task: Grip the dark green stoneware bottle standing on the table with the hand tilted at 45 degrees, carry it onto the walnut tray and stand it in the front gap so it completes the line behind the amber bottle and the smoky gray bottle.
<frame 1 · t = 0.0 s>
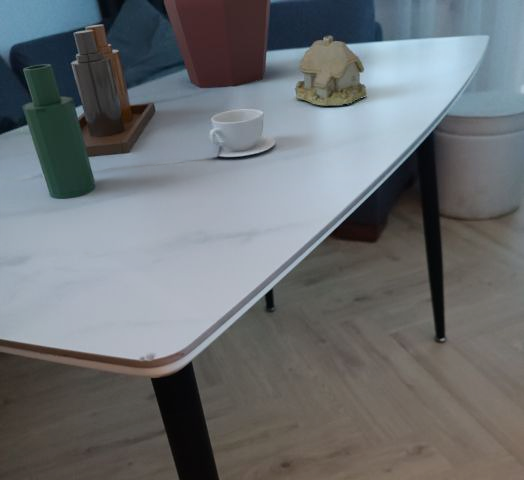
teacup: (241, 150, 86), on the table
ceramic model: (329, 99, 107), on the table
tray: (107, 138, 99), on the table
gray bottle: (107, 131, 100), resting on tray
amber bottle: (116, 121, 105), resting on tray
bucket: (227, 80, 131), on the table
green bottle: (72, 190, 79), on the table
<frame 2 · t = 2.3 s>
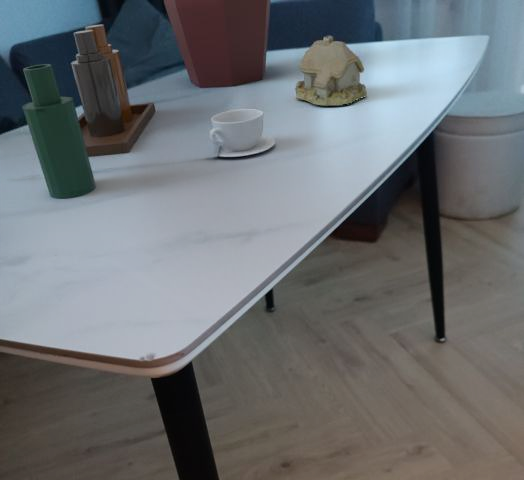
nothing on the table moved.
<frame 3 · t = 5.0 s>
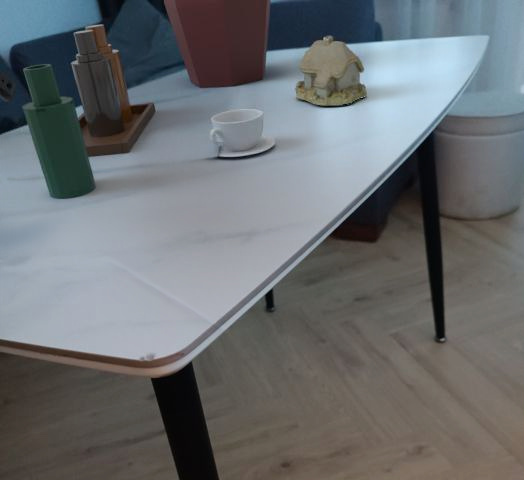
nothing on the table moved.
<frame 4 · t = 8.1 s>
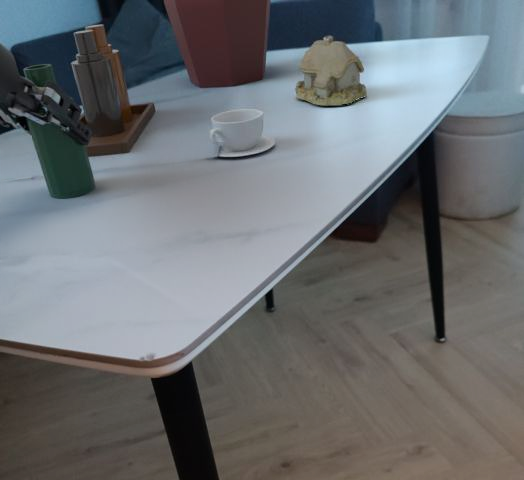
hand: (67, 137, 76), 6 cm above the table, tool tilted 45°, fingers closed on green bottle, 6 cm apart
green bottle: (72, 190, 79), on the table, touching gripper
everything else where it was.
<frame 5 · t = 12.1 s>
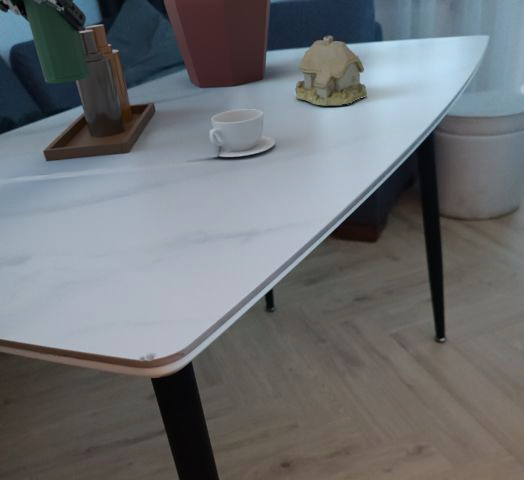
hand: (63, 25, 80), 18 cm above the table, tool tilted 45°, fingers closed on green bottle, 6 cm apart
green bottle: (67, 78, 83), point 12 cm above the table, touching gripper
everything else where it was.
when the fingers open (7 cm above the table, at t = 16.5 s): green bottle stays where it is, resting on tray.
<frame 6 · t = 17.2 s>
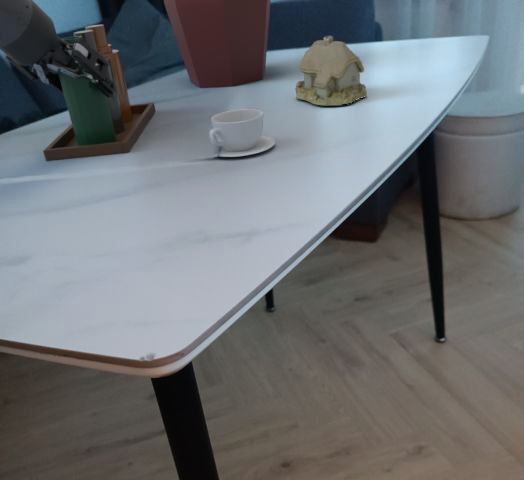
hand: (90, 91, 91), 8 cm above the table, tool tilted 45°, fingers open, 8 cm apart
green bottle: (97, 144, 94), point 1 cm above the table, touching tray
everything else where it was.
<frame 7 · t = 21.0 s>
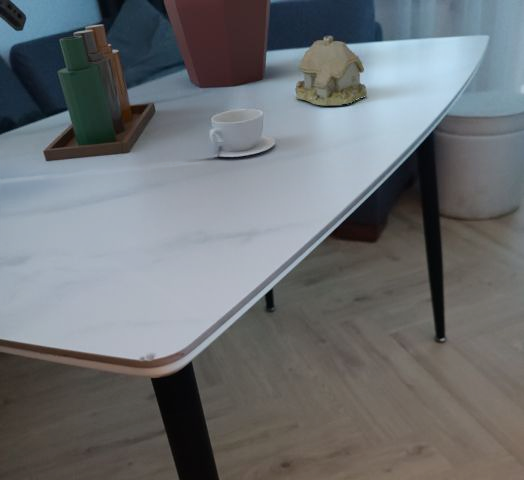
nothing on the table moved.
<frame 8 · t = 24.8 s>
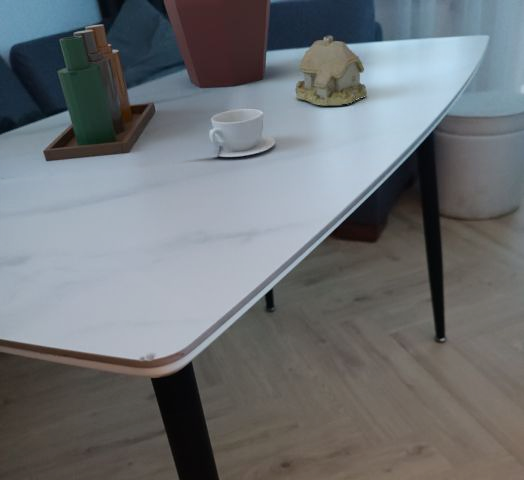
nothing on the table moved.
at the end: green bottle 0.1 cm from the target spot in the tray, point 0.8 cm above the tray's base; green bottle tilted 0°; the gripper is holding nothing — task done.
